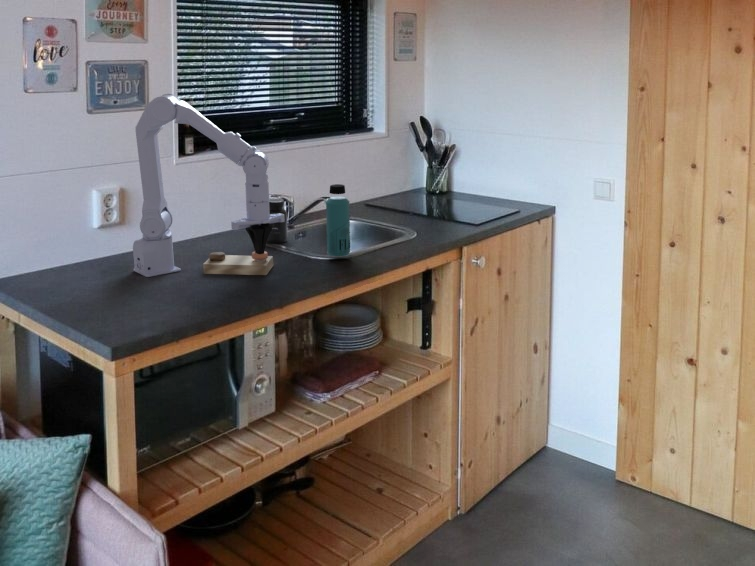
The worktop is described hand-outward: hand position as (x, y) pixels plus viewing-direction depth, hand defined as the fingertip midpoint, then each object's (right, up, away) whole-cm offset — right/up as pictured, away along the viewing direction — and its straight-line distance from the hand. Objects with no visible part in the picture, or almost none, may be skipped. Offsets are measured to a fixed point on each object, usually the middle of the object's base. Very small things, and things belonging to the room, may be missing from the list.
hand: (259, 253), depth 217 cm
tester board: (-5, -4, +2) cm, 7 cm away
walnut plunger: (-11, -4, +2) cm, 12 cm away
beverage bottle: (+20, -1, +12) cm, 23 cm away
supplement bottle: (+1, +4, +31) cm, 31 cm away
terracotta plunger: (0, -3, +1) cm, 4 cm away
